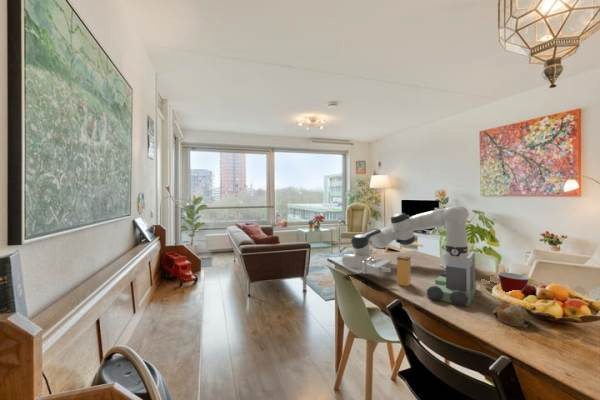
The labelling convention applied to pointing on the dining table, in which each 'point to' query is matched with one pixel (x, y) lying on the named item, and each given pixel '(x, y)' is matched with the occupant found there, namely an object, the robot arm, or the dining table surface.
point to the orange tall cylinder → (403, 271)
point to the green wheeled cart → (455, 283)
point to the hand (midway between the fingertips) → (393, 268)
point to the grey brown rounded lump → (512, 315)
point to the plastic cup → (512, 281)
